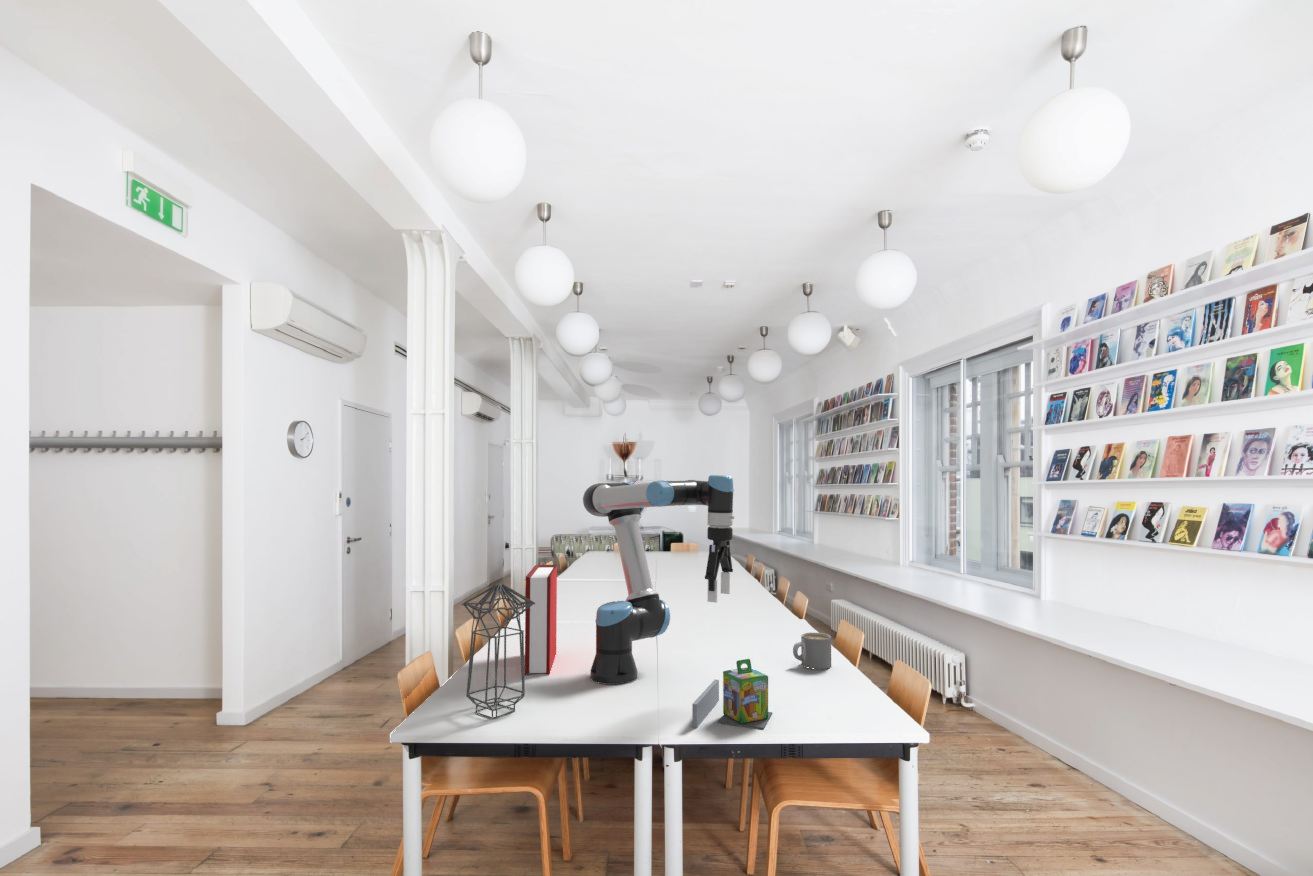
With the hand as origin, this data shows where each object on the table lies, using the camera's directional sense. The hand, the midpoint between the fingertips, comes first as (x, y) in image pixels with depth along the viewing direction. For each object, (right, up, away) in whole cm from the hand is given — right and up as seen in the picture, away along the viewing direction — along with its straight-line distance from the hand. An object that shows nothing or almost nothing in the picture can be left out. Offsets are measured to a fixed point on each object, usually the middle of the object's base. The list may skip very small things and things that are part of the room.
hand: (718, 597), depth 202 cm
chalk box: (+5, -27, -20) cm, 35 cm away
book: (-59, -30, +31) cm, 73 cm away
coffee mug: (+34, -30, +29) cm, 54 cm away
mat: (+5, -28, -21) cm, 35 cm away
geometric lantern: (-63, -28, -15) cm, 70 cm away
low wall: (-5, -28, -17) cm, 33 cm away
